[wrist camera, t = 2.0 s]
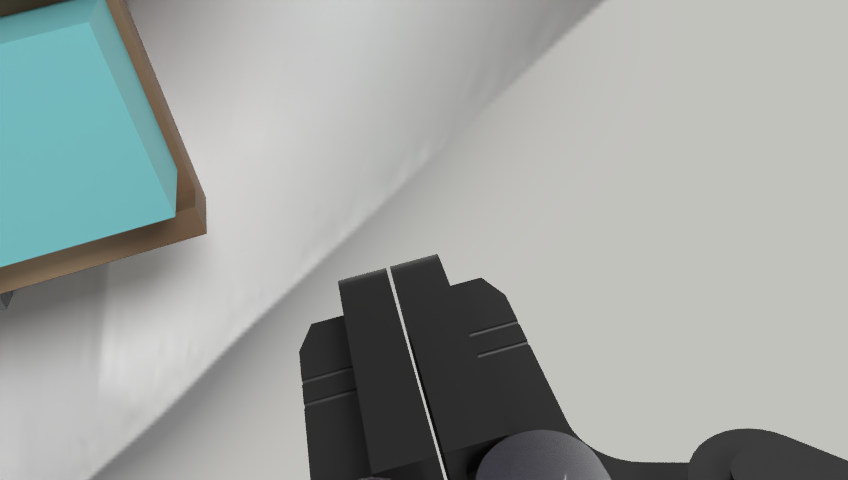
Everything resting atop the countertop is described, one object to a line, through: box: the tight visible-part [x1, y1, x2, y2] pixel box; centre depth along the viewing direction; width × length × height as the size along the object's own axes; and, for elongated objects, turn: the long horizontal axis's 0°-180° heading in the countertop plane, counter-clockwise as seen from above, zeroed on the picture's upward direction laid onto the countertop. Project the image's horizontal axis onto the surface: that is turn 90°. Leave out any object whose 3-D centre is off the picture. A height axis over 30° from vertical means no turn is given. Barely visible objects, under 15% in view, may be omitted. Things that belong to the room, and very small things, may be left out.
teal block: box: [0, 0, 177, 267], centre depth 20 cm, size 7×6×3 cm
